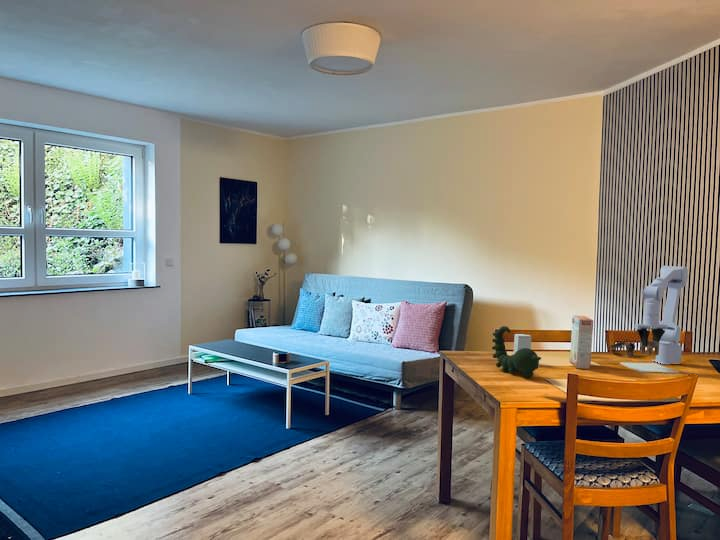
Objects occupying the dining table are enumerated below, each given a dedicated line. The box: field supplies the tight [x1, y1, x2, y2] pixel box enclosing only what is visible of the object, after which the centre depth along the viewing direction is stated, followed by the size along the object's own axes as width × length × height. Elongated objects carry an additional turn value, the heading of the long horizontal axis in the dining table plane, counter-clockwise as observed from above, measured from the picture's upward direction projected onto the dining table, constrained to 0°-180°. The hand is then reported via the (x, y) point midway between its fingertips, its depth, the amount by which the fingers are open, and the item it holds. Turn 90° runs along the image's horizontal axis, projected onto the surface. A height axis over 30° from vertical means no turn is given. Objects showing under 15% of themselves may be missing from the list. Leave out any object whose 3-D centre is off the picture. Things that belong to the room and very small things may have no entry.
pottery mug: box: [609, 340, 636, 358], centre depth 252 cm, size 12×10×8 cm
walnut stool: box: [639, 339, 659, 356], centre depth 223 cm, size 5×5×6 cm
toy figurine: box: [491, 325, 542, 379], centre depth 205 cm, size 9×19×25 cm
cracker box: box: [569, 315, 594, 370], centre depth 224 cm, size 14×6×21 cm, turn 168°
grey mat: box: [619, 362, 680, 374], centre depth 224 cm, size 16×16×1 cm
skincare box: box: [512, 333, 532, 355], centre depth 227 cm, size 6×4×12 cm
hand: (649, 346), depth 223 cm, fingers closed on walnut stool, 5 cm apart
